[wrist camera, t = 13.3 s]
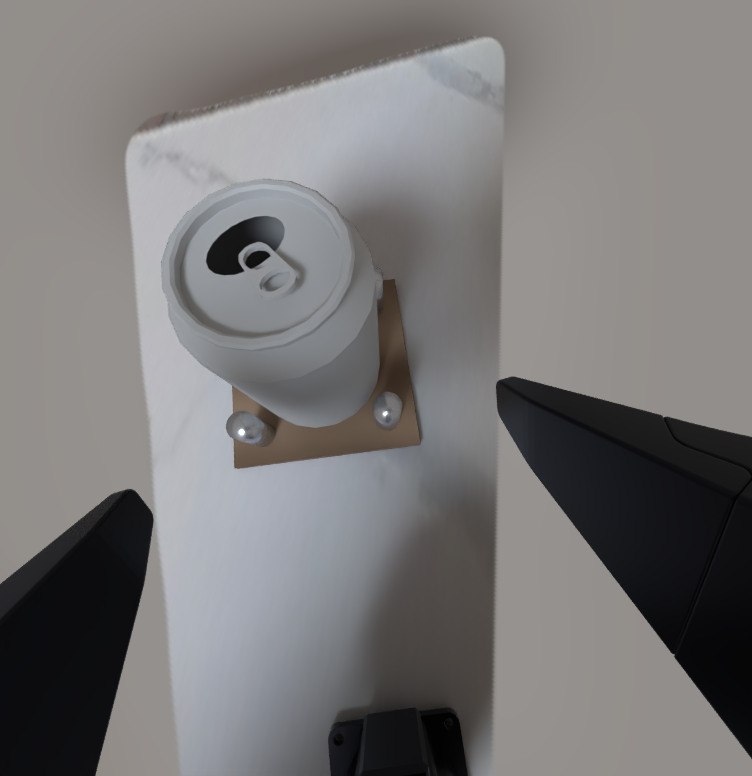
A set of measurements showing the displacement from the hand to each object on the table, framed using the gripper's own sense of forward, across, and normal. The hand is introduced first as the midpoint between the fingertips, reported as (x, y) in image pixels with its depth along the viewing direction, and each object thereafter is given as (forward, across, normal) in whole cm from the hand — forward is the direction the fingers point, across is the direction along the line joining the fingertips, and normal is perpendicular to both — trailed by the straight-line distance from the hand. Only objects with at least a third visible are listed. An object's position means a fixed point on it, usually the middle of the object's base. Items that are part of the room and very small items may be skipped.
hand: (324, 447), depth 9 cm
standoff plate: (+14, +1, +5) cm, 15 cm away
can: (+14, +1, +5) cm, 15 cm away
